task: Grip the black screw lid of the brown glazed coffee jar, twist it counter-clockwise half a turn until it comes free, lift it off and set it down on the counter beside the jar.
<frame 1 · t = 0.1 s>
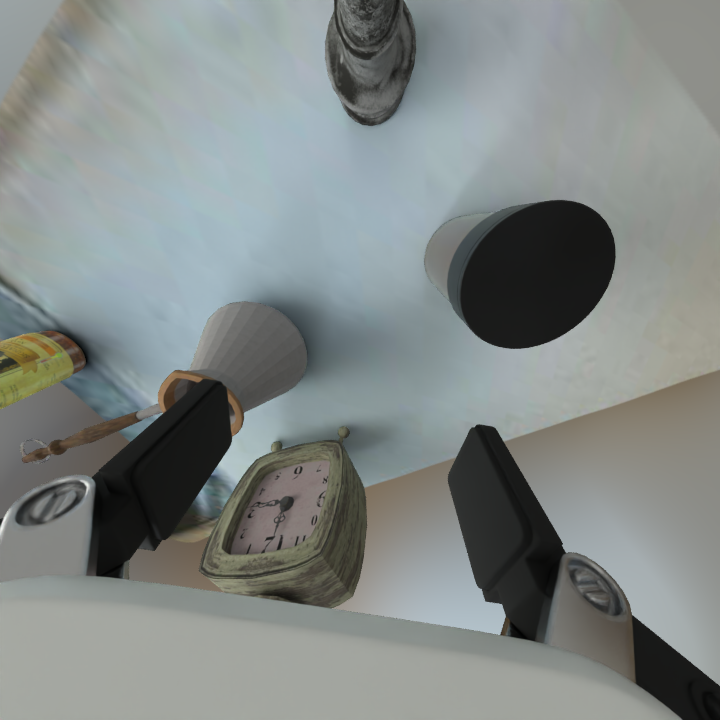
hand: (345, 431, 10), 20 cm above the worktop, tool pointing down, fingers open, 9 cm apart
jar lid: (528, 282, 14), point 13 cm above the worktop, screwed on, not yet turned
coffee pot: (230, 350, 32), on the worktop
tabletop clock: (318, 447, 39), on the worktop
jar: (461, 257, 25), on the worktop
grey stepped cylinder: (371, 82, 20), on the worktop
sauce bottle: (64, 349, 33), on the worktop
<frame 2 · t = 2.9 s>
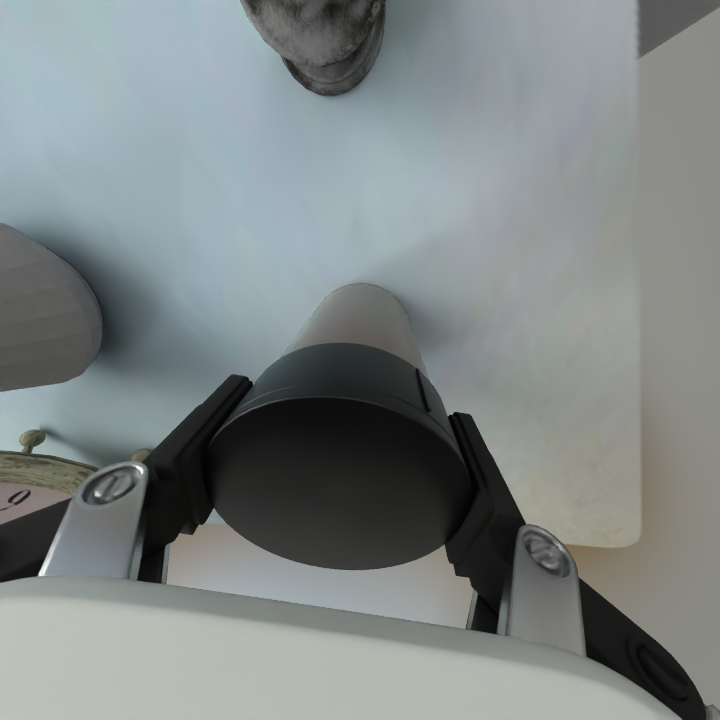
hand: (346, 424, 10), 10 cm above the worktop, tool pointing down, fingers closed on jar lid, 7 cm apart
jar lid: (337, 488, 8), point 13 cm above the worktop, screwed on, not yet turned, touching gripper
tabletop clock: (106, 457, 28), on the worktop
jar: (361, 333, 19), on the worktop
grey stepped cylinder: (328, 19, 12), on the worktop
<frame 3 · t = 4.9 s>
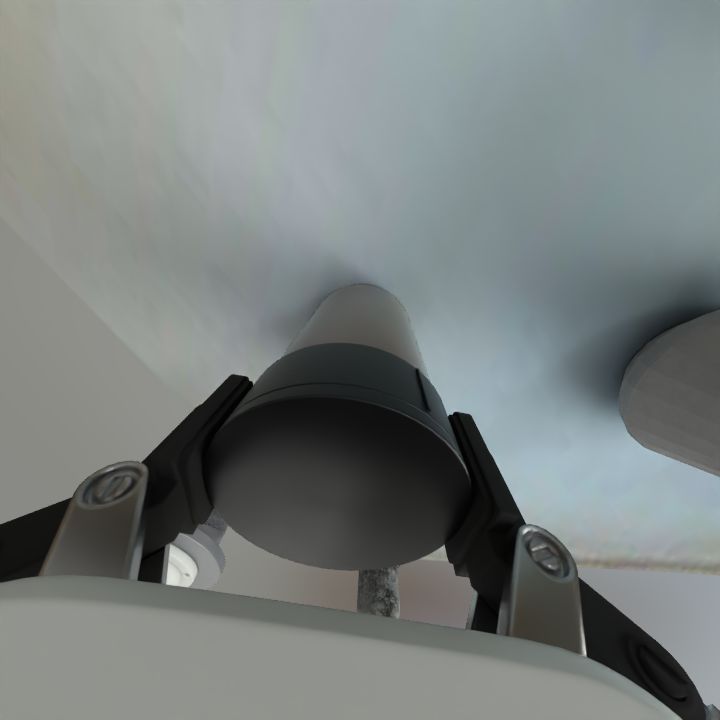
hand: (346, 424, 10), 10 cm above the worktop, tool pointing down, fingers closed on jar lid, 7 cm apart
jar lid: (337, 488, 8), point 13 cm above the worktop, off its thread, touching gripper
jar: (361, 333, 19), on the worktop
grey stepped cylinder: (377, 474, 26), on the worktop
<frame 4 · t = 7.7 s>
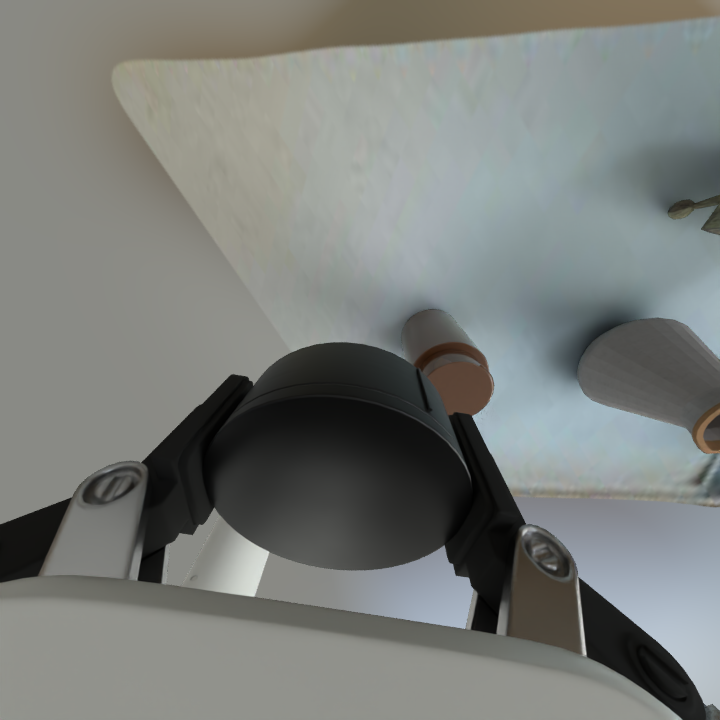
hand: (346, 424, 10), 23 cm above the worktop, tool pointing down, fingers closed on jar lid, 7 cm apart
jar lid: (337, 488, 8), point 26 cm above the worktop, off its thread, touching gripper
coffee pot: (648, 363, 33), on the worktop
jar: (429, 336, 33), on the worktop
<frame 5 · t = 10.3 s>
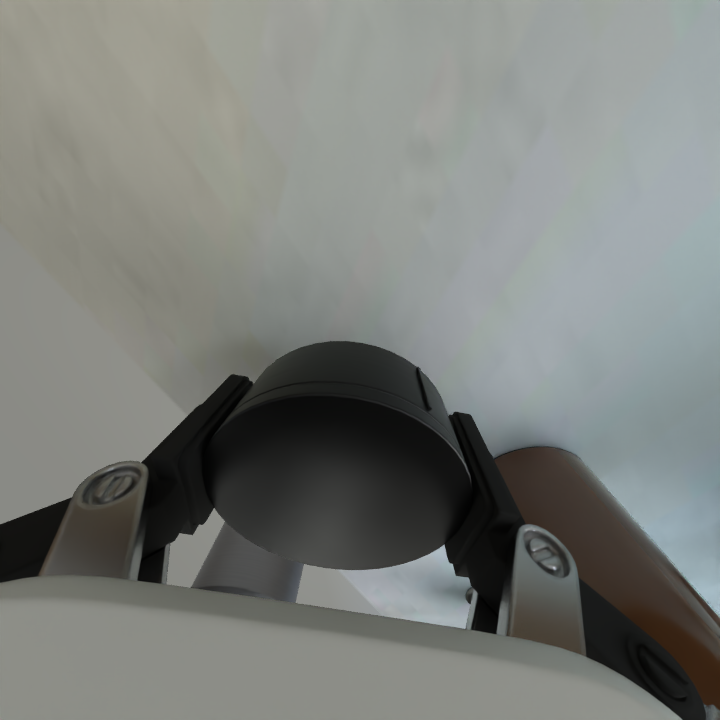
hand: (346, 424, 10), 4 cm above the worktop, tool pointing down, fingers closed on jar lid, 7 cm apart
jar lid: (337, 487, 8), point 7 cm above the worktop, off its thread, touching gripper
jar: (527, 485, 17), on the worktop
when the fingers open (0 cm above the worktop, at t = 12.4 s): jar lid stays where it is, point 2 cm above the worktop.
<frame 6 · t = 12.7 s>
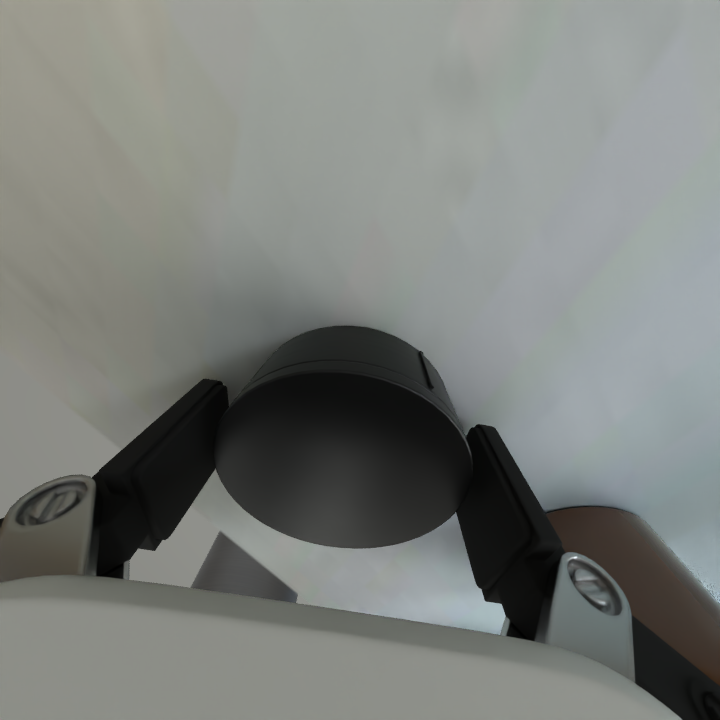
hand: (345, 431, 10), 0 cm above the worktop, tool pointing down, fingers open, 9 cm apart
jar lid: (342, 466, 8), point 2 cm above the worktop, off its thread
jar: (569, 547, 13), on the worktop
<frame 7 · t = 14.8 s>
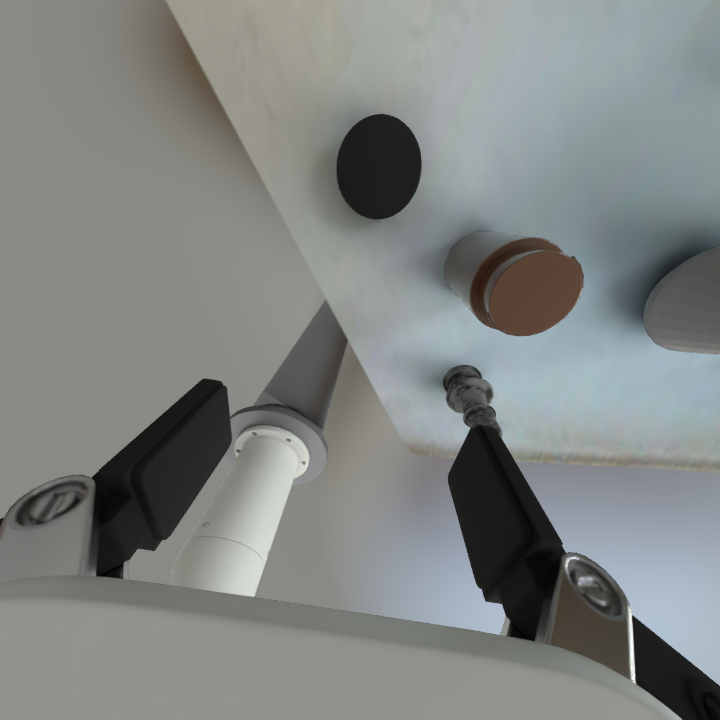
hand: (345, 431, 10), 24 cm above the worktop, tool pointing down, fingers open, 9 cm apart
jar lid: (378, 171, 23), point 2 cm above the worktop, off its thread
jar: (476, 266, 29), on the worktop
grey stepped cylinder: (461, 380, 36), on the worktop
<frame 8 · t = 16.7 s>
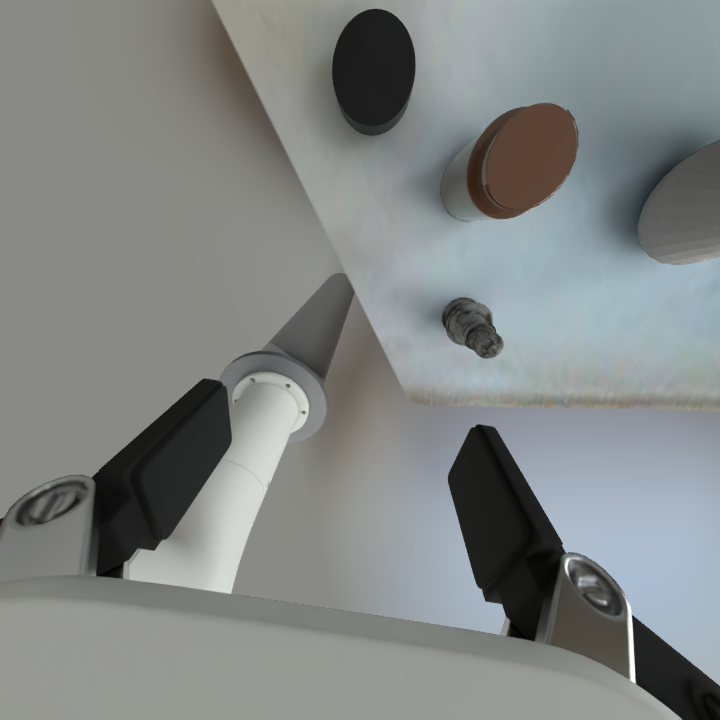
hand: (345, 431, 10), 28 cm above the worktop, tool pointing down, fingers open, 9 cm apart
jar lid: (373, 74, 24), point 2 cm above the worktop, off its thread
coffee pot: (714, 220, 29), on the worktop
jar: (472, 185, 29), on the worktop
grey stepped cylinder: (460, 315, 36), on the worktop
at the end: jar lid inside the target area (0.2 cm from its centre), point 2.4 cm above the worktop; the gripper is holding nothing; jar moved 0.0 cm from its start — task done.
